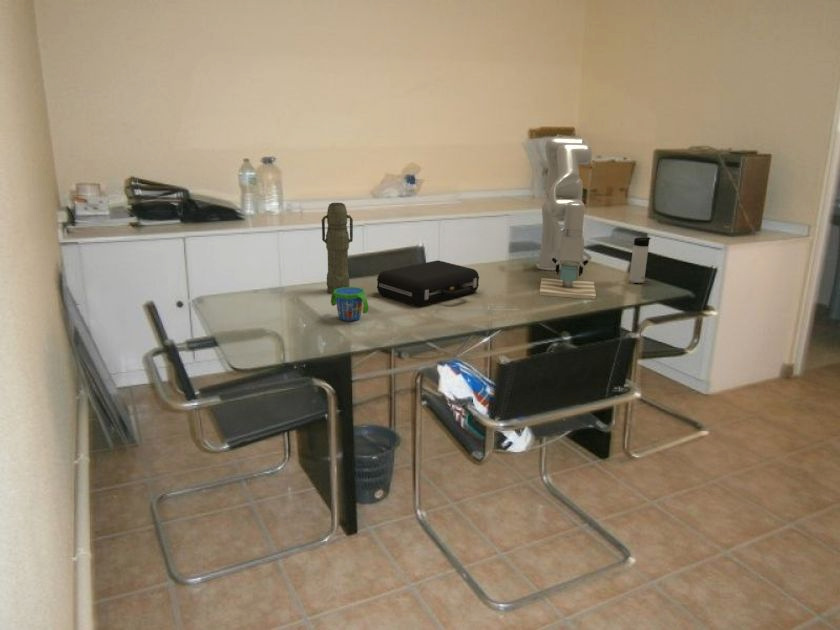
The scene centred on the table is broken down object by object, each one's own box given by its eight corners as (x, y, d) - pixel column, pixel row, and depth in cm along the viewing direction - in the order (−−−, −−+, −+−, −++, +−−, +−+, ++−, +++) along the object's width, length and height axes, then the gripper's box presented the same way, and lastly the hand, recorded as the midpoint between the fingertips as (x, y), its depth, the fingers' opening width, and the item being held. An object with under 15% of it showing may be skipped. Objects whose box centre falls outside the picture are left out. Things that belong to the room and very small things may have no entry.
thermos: (320, 289, 264) (319, 202, 253) (349, 287, 268) (348, 201, 257) (326, 295, 256) (324, 205, 245) (355, 293, 260) (354, 204, 249)
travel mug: (646, 284, 284) (652, 239, 278) (631, 284, 284) (636, 238, 278) (642, 280, 290) (648, 236, 284) (627, 280, 290) (632, 235, 284)
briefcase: (429, 314, 237) (430, 287, 234) (373, 295, 259) (373, 270, 256) (493, 296, 262) (495, 272, 259) (437, 280, 283) (437, 258, 280)
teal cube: (560, 277, 274) (561, 263, 273) (576, 278, 273) (577, 264, 271) (560, 280, 268) (561, 266, 266) (576, 282, 267) (577, 267, 265)
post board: (541, 281, 284) (542, 260, 282) (593, 285, 280) (595, 263, 277) (539, 295, 264) (541, 272, 261) (595, 299, 260) (598, 276, 257)
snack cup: (323, 316, 231) (322, 288, 227) (346, 310, 238) (345, 283, 235) (353, 327, 221) (352, 298, 217) (375, 320, 228) (375, 292, 225)
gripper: (550, 233, 263) (547, 275, 268) (595, 236, 260) (590, 278, 265) (550, 230, 270) (547, 271, 275) (594, 232, 267) (589, 274, 272)
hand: (568, 274), depth 270 cm, fingers open, 8 cm apart
